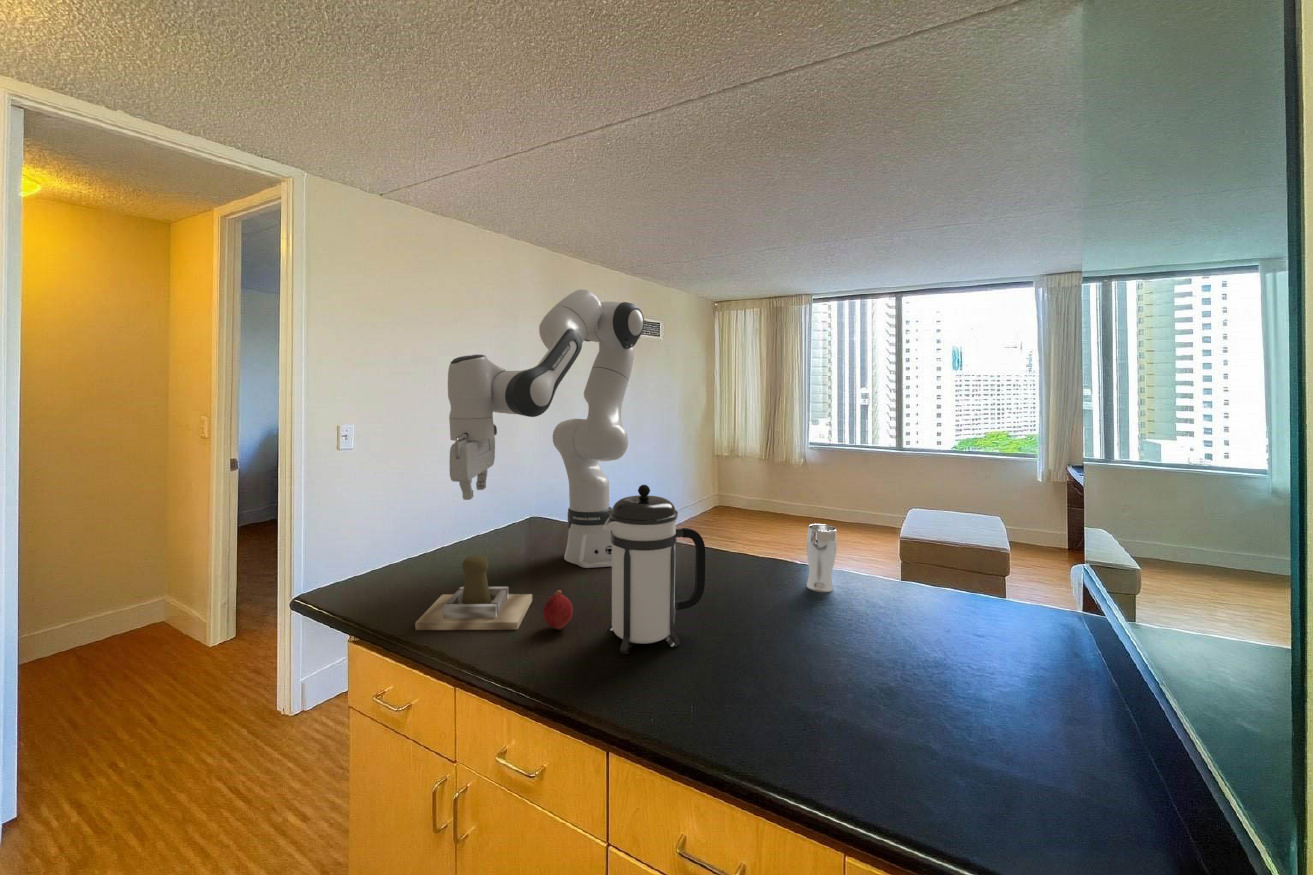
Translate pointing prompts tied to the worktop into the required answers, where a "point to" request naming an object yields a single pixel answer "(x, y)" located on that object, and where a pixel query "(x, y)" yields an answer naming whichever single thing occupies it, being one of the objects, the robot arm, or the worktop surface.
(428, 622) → the collar board
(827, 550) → the beer glass
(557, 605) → the red rounded piece
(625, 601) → the coffee press
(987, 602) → the worktop surface
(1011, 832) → the worktop surface
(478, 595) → the cork
